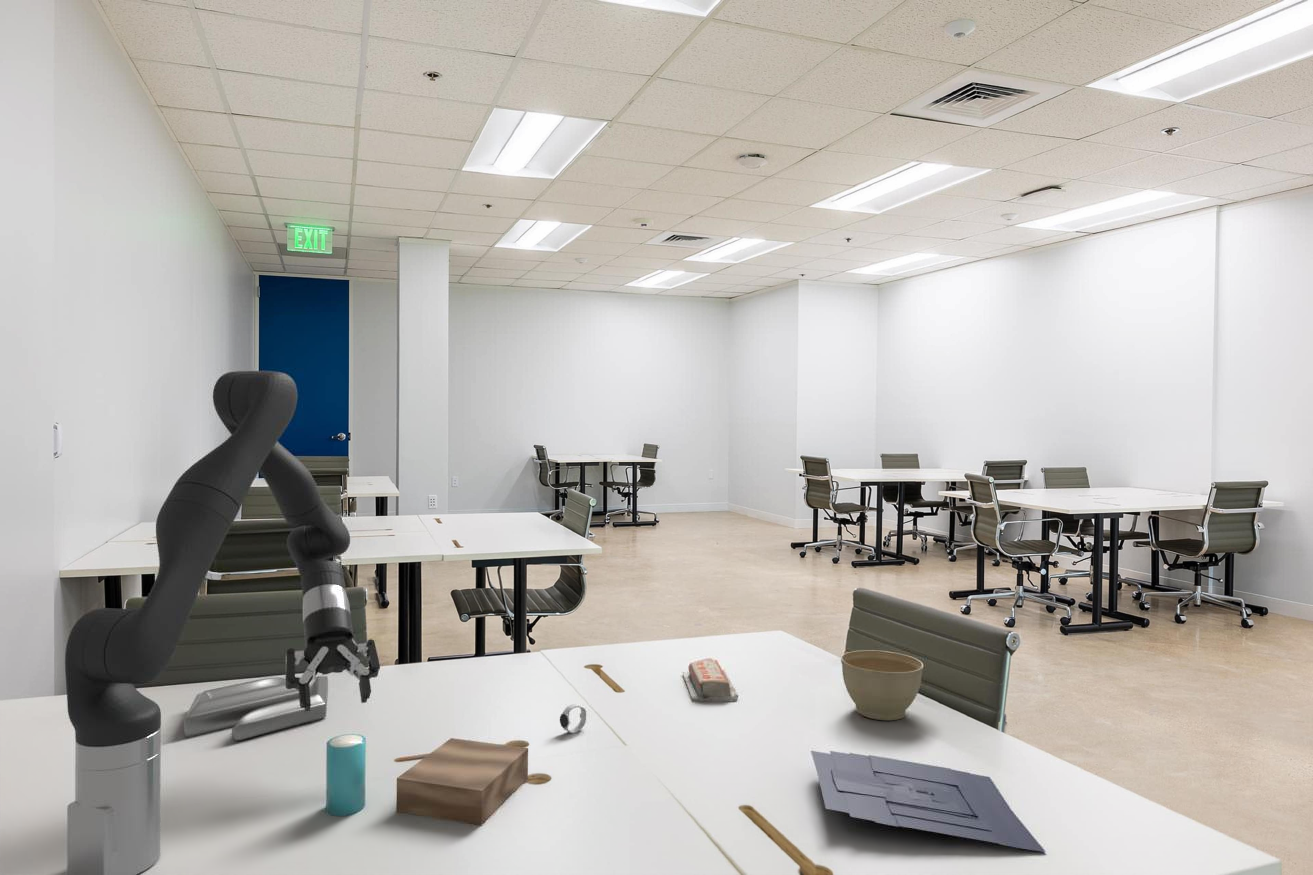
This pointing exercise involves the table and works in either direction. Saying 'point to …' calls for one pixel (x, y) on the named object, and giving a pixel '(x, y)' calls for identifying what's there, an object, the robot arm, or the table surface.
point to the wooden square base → (462, 781)
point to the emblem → (254, 708)
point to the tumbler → (345, 774)
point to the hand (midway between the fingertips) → (336, 704)
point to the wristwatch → (565, 720)
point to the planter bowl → (881, 682)
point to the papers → (919, 798)
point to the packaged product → (709, 682)
